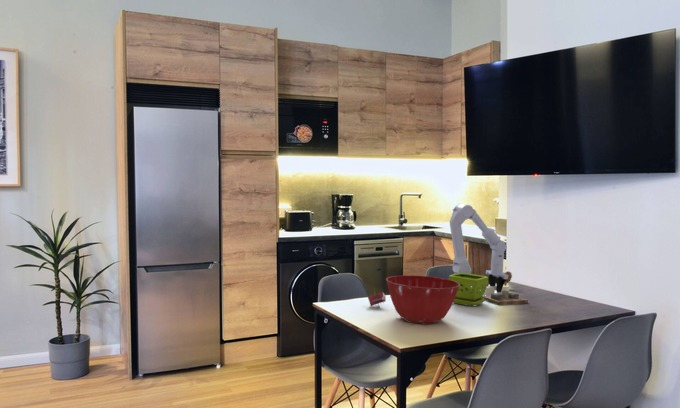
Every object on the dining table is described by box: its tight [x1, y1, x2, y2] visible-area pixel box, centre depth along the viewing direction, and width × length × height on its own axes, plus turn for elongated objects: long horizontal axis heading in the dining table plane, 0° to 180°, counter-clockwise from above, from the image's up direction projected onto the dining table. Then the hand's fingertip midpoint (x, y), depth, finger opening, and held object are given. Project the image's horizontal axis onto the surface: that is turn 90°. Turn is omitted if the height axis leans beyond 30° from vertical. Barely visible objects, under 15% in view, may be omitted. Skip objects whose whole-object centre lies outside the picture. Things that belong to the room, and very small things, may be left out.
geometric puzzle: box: [367, 291, 387, 308], centre depth 236 cm, size 7×7×8 cm
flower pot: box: [448, 273, 488, 307], centre depth 250 cm, size 14×14×13 cm
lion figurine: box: [487, 271, 513, 286], centre depth 291 cm, size 15×5×9 cm, turn 104°
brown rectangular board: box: [482, 290, 529, 306], centre depth 258 cm, size 17×12×5 cm
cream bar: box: [483, 285, 510, 296], centre depth 273 cm, size 14×3×4 cm, turn 113°
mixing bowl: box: [385, 274, 460, 325], centre depth 216 cm, size 28×28×15 cm
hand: (495, 291), depth 273 cm, fingers open, 4 cm apart
